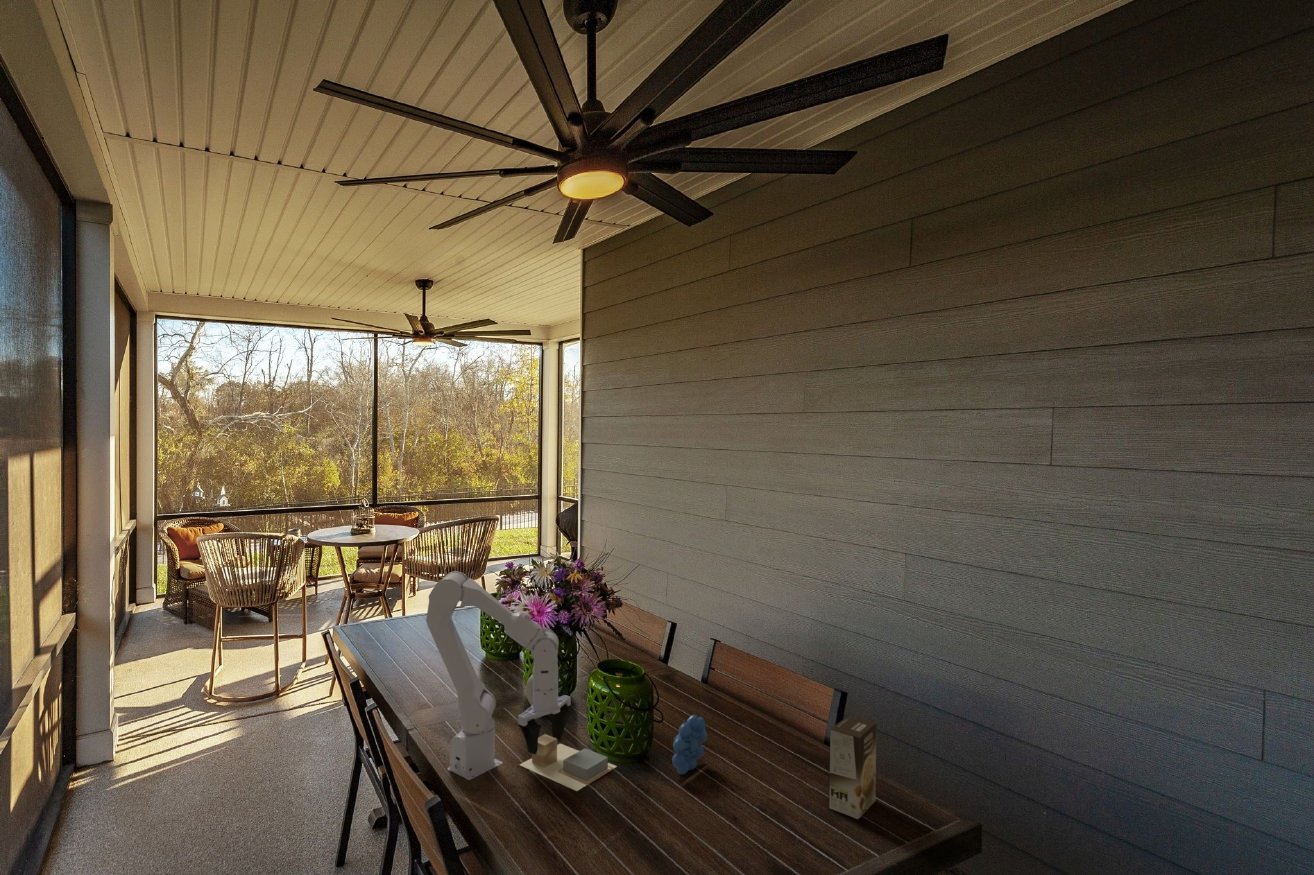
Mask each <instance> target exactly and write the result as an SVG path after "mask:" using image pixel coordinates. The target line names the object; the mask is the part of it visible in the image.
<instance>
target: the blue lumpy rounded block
mask: <svg viewBox="0 0 1314 875" xmlns="http://www.w3.org/2000/svg"><path fill="white" fill-rule="evenodd" d="M705 728H706V721H705V719H704V718H703V717H702V716H699V717H698V716H697V715H696V714H692V715H690V716H689V717H688V718H687V719H686V722H683V723H681V725H680V726H679V728H678V734H677V735H676V736H675V737H674V741H673V743H672V747H673V748H672V749H673V751H674V754H673V756H672V758H671V761H672V766H673V767H674V768H676V769H677V770H676V771H677V773H678V774H679V775H681V776H682V775H685V774H686V773H688V771H693V770H695V769H696V767H697V765H698V762H697V759H700V758H701V757H702V756H704V752H705V751H704V746H703V743H704V742H705V741H706V740H707V739H708V735H707V733H708V732H707V731H706V729H705Z"/></svg>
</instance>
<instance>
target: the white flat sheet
mask: <svg viewBox="0 0 1314 875" xmlns="http://www.w3.org/2000/svg"><path fill="white" fill-rule="evenodd" d="M579 751H580V750H577V749H575V748H574V747H573V748H572V747H570V746H567V745H565V744H563V743H557V761H556V762H554V763H552V764H550V765H548V766H547V767H545V768H544V767H541V766H539V765H537V764H535V763H532V757H531V758H530V759H527V760H525V761H524V762H522V763H519V766H520V767H523V768H525V769H528V770H529V771H532V772H534V773H536V774H538V775H540V776H542V777H544V778H547V779H549V780H551V781H554V782H555V783H558V784H561V785H562V786H564V787H566V788H568V789H571V790H573V791H575V792H578V791H580V790H581V789H583V788H584V787H586V786H588V785H590V784H592V782H593V783H594V781H596V780H598V779H599V778H602V776H604V775H605V774H608V773H609V772H611V771H612V770H614V769H615V768H617V767H618V766H617V765H615V764H612V763H610V762H608V769H606V770H605V771H603V772H601V773H600V774H598V775H596V776H595V777H593V778H591V779H590V780H588V781H584V780H582V779H580V778H577V777H575V776H573V775H570V774H568V773H566V772H564V771H563V760H564V759H566V758H568V757H570V756H572V755H573V754H575V753H577V752H579Z"/></svg>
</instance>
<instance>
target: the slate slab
mask: <svg viewBox="0 0 1314 875" xmlns="http://www.w3.org/2000/svg"><path fill="white" fill-rule="evenodd" d="M578 751H579V752H577V753H575V754H573V755H572V756H570V757H568V758H566V759H564V760H563V771H564V772H566V773H568V774H570V775H573V776H575V777H577V778H580V779H582V780H584V781H588V780H590V779H591V778H593V777H595V776H596V775H598V774H600V773H601V772H603V771H605V770H606V769H608V763H609V757H608V756H605V755H604V754H600V753H598V752H595V751H593V750H592V749H588V748H582V749H581V750H578Z"/></svg>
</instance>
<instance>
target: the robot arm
mask: <svg viewBox="0 0 1314 875" xmlns="http://www.w3.org/2000/svg"><path fill="white" fill-rule="evenodd" d="M459 602H461V603H460V604H459V606H460V608H464V607H476V608H477V609H479V610H481V612H483V613H485V614H486V615H487V616H490V617H491V618H493V619H494V620H496V621H497V622H498V623H500V624H502V625H503V627H504V633H505V635H507V636H508V637H509V638H511V639H512V640H514V641H515V642H516V643H518V644H519V645H520V646H522V647H523V648H525V649H526V650H528V651H530V652H531V657H532V658H533V666H532V675H533V705H530V707H527V709H526V710H524V711H523V712H522V713H520V714H518V716H517V725H518V727H519V729H520V730H521V733H522V734H523V736H524V739H525V744H526V746H527V750H528V753H530V754H531V755H532V754H536V753H537V750H538V737H540V735H539V734H540V732H541V729H542V725H541V724H539V723H537V721H536V720H537V719H539V718H542V717H543V716H550V720H551V733H552V735H551V736H552V737H554V738H556V739H557V742H561V741H562V738H563V735H564V730H565V727H566V724H567V722H568V719H569V717H570V715H571V714H572V709H571V707H569V706H571V705H572V704H571V702H572V701H571V697H572V696H569V695H566V694H563V695H561V696H559V665H558V662H559V661H558V660H559V658H558V654H559V644H560V642H559V641H560V640H559V637H558V635H557V634H556V633H555V632H554V631H553V630H552V629H548V628H547V627H545V626H543V627H542V626H541V625H539V623H537V622H535V621H534V620H532V619H531V618H532V615H531V614H529V613H528V612H526V613H524V612H522V611H518V612H513V611H511V610H510V609H509V608H508V607H506V605H504V603H501V601H499V600H498V599H497V598H495V597H494V596H493V595H492V594H491V593H490V592H488V591H487V590H486V589H485V588H483V587H482V585H480V584H479V583H478V582H477V581H476V580H474V579H472V578H470V577H468V576H467V575H466V574H465V573H463V572H461V571H457V570H455V571H451V572H448V573H447V574H445V576H444V577H443V578H442V579H441V580H439V581H438V582H436V583H435V584H434V586H433V588H432V589H431V591H430V593H429V594H428V606H427V613H426V618H425V620H426V626H427V627H428V629H429V632H430V634H431V637H432V639H433V641H434V643H435V645H436V649H437V650H438V652H439V655H440V657H441V659H442V661H443V664H444V665H445V667H446V670H447V672H448V675H449V677H450V680H451V682H452V684H453V686H454V688H455V691H456V693H457V702H458V703H457V704H458V709H459V711H460V712H459V713H460V724H461V730H460V731H459V732H458V733H457V734H456V735H454V736H453V737H452V738H451V739H450V743H449V767H447V771H450V772H452V773H455V774H456V775H458V776H460V777H461V778H464V779H466V780H469V781H470V780H472V779H475V778H476V777H478V776H480V775H482V774H485V773H486V772H488V771H490V770H491V769H492V770H493V769H495V768H496V767H498V766H500V765H502V764H504V763H503V761H501V760H499V759H497V758H495V756H496V755H495V754H496V753H495V752H496V751H495V749H496V746H495V745H496V744H495V742H496V740H495V739H496V738H495V736H496V722H495V720H494V719H493V713H494V711H495V709H496V705H497V700H496V698H495V695H494V694H493V693H492V692H490V691H489V690H488V689H487V687H486V685H485V683H484V682H483V681H481V680H480V679H479V677H478V675H477V673H476V671H475V668H474V666H473V664H472V662H471V661H472V660H470V656H469V655H468V653H467V649H465V648H466V647H465V645H464V644H463V641H462V639H461V637H460V635H459V632H458V630H457V628H456V625H455V623H454V621H453V618H452V616H454V613H455V611H456V608H457V607H458V603H459Z"/></svg>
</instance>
